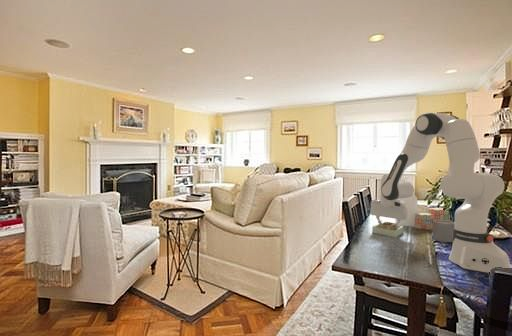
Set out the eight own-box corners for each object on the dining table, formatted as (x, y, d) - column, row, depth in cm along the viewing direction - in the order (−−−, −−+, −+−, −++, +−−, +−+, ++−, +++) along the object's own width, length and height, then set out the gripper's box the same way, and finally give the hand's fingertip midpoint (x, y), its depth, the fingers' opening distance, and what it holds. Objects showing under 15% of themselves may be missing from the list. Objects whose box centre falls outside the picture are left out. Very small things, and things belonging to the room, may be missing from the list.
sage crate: (403, 233, 166) (403, 226, 166) (395, 237, 157) (395, 230, 157) (380, 229, 175) (380, 222, 175) (372, 233, 166) (372, 226, 166)
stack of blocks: (421, 230, 174) (421, 210, 173) (414, 227, 180) (414, 208, 179) (452, 228, 176) (453, 209, 176) (444, 226, 183) (445, 207, 182)
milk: (417, 226, 181) (419, 186, 179) (398, 225, 184) (399, 185, 183) (413, 222, 192) (414, 184, 191) (395, 221, 196) (396, 183, 194)
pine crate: (395, 231, 167) (395, 223, 167) (390, 234, 161) (390, 226, 160) (385, 229, 171) (385, 221, 171) (379, 232, 165) (379, 224, 164)
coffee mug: (433, 241, 152) (434, 222, 151) (431, 236, 160) (432, 218, 160) (464, 244, 146) (465, 225, 145) (460, 239, 155) (460, 221, 154)
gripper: (368, 200, 170) (368, 222, 171) (405, 204, 156) (404, 229, 156) (372, 198, 174) (372, 220, 175) (408, 202, 160) (408, 226, 161)
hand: (387, 224), depth 166 cm, fingers open, 8 cm apart
